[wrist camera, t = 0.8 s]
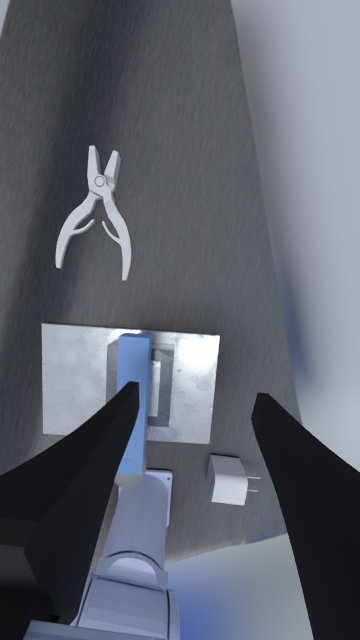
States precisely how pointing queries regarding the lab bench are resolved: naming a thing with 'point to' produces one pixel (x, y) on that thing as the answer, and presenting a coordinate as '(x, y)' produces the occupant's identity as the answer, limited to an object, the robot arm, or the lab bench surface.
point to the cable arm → (137, 368)
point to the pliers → (98, 191)
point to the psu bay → (89, 379)
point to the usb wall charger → (228, 480)
